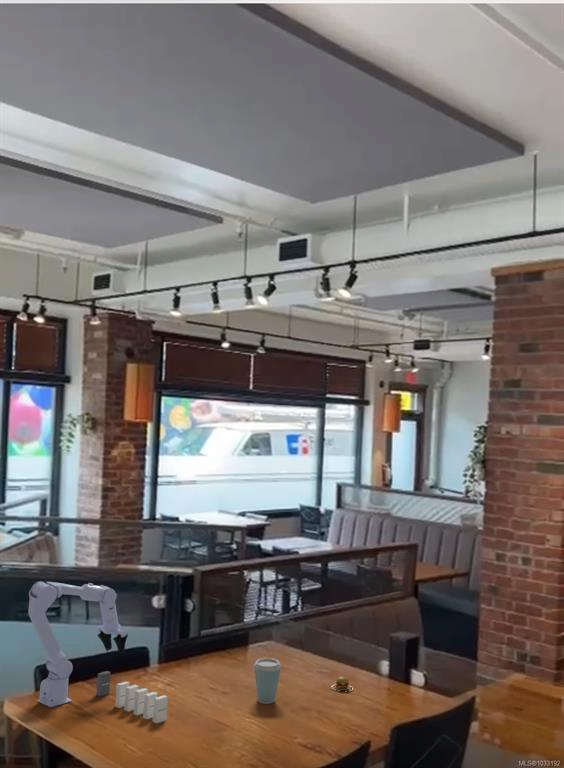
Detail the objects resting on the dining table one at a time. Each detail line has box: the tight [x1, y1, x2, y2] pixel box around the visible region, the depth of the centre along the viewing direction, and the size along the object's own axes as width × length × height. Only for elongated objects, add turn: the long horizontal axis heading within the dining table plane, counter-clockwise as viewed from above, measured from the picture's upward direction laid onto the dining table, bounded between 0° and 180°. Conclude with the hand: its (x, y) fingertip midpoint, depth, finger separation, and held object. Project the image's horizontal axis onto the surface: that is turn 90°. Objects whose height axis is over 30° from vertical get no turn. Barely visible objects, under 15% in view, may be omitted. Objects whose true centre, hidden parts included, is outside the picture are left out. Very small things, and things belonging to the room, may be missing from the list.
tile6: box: [152, 694, 169, 724], centre depth 265 cm, size 4×2×8 cm, turn 142°
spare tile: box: [96, 670, 112, 697], centre depth 288 cm, size 4×2×8 cm, turn 142°
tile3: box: [123, 684, 140, 712], centre depth 275 cm, size 4×2×8 cm, turn 142°
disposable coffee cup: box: [253, 657, 282, 705], centre depth 292 cm, size 11×11×15 cm
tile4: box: [133, 687, 149, 716], centre depth 272 cm, size 4×2×8 cm, turn 142°
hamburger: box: [330, 676, 354, 693], centre depth 312 cm, size 12×12×6 cm
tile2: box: [114, 681, 131, 709], centre depth 278 cm, size 4×2×8 cm, turn 142°
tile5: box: [142, 691, 159, 720], centre depth 269 cm, size 4×2×8 cm, turn 142°
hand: (115, 651), depth 294 cm, fingers open, 7 cm apart
